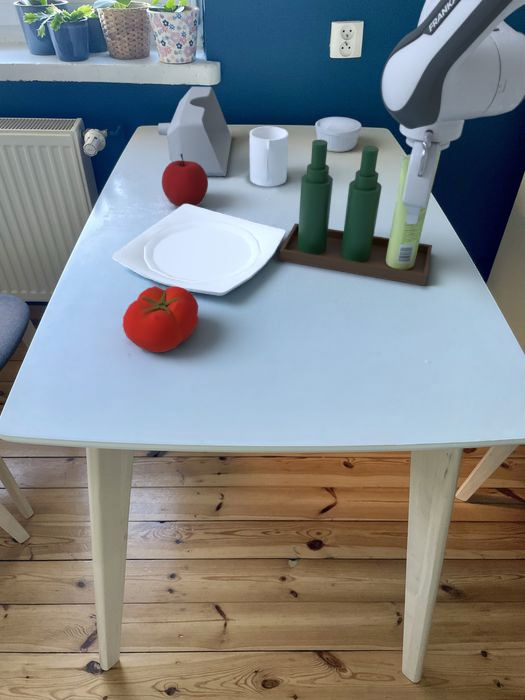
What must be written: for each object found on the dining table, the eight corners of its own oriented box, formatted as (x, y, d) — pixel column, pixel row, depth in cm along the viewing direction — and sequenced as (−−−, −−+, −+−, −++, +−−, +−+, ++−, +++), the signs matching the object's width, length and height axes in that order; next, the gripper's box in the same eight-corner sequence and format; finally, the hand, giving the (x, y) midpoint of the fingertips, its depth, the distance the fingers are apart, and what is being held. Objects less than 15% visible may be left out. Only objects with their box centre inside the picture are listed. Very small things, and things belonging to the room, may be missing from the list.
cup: (248, 193, 115) (247, 146, 108) (250, 170, 124) (250, 125, 117) (286, 194, 115) (288, 147, 108) (286, 171, 124) (288, 126, 117)
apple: (157, 210, 109) (151, 162, 102) (173, 191, 115) (168, 144, 109) (200, 216, 107) (197, 167, 101) (214, 196, 114) (212, 149, 107)
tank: (169, 136, 139) (164, 84, 131) (231, 137, 139) (230, 85, 131) (153, 177, 121) (146, 120, 112) (225, 178, 120) (222, 120, 112)
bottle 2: (372, 250, 97) (389, 144, 84) (367, 265, 93) (385, 157, 81) (344, 245, 98) (356, 140, 85) (338, 260, 94) (350, 152, 82)
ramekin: (308, 139, 139) (309, 118, 135) (349, 135, 141) (351, 114, 137) (322, 155, 130) (324, 133, 127) (365, 151, 133) (368, 130, 129)
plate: (294, 242, 100) (295, 229, 98) (226, 313, 84) (225, 299, 82) (184, 211, 108) (183, 199, 107) (103, 271, 92) (100, 257, 90)
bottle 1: (328, 242, 99) (339, 138, 86) (322, 257, 95) (332, 150, 82) (301, 238, 100) (307, 134, 87) (294, 252, 96) (299, 146, 84)
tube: (388, 251, 97) (408, 142, 84) (416, 256, 95) (441, 146, 82) (382, 268, 93) (403, 156, 80) (412, 273, 91) (438, 160, 78)
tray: (429, 255, 97) (432, 244, 96) (424, 286, 90) (427, 275, 88) (294, 233, 102) (294, 223, 101) (279, 260, 95) (279, 250, 94)
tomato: (116, 350, 77) (108, 314, 73) (153, 306, 85) (148, 271, 80) (177, 366, 75) (172, 330, 70) (210, 320, 82) (207, 285, 78)
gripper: (450, 148, 70) (428, 242, 79) (457, 101, 84) (438, 185, 93) (401, 142, 71) (385, 236, 80) (416, 97, 86) (401, 180, 95)
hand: (414, 208), depth 87 cm, fingers open, 8 cm apart
